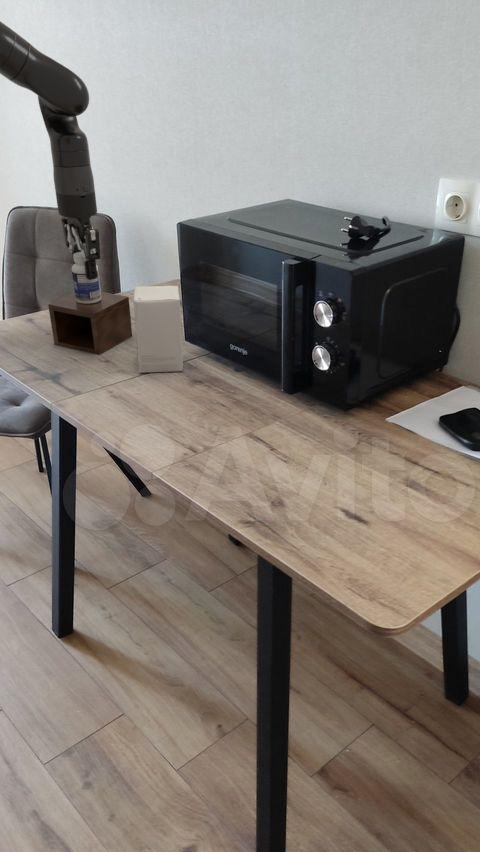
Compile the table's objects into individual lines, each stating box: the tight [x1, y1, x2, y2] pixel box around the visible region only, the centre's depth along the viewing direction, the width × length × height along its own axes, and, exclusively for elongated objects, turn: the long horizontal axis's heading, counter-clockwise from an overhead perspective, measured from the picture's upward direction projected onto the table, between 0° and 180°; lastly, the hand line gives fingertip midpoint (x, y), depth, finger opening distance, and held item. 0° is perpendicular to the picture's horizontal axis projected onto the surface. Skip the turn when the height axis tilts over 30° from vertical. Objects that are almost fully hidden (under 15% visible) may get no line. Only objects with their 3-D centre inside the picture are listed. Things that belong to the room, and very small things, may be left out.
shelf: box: [47, 291, 133, 355], centre depth 152 cm, size 12×12×9 cm
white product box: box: [133, 285, 184, 374], centre depth 141 cm, size 9×9×15 cm
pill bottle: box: [71, 251, 102, 304], centre depth 147 cm, size 5×5×10 cm
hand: (85, 274), depth 147 cm, fingers open, 6 cm apart
